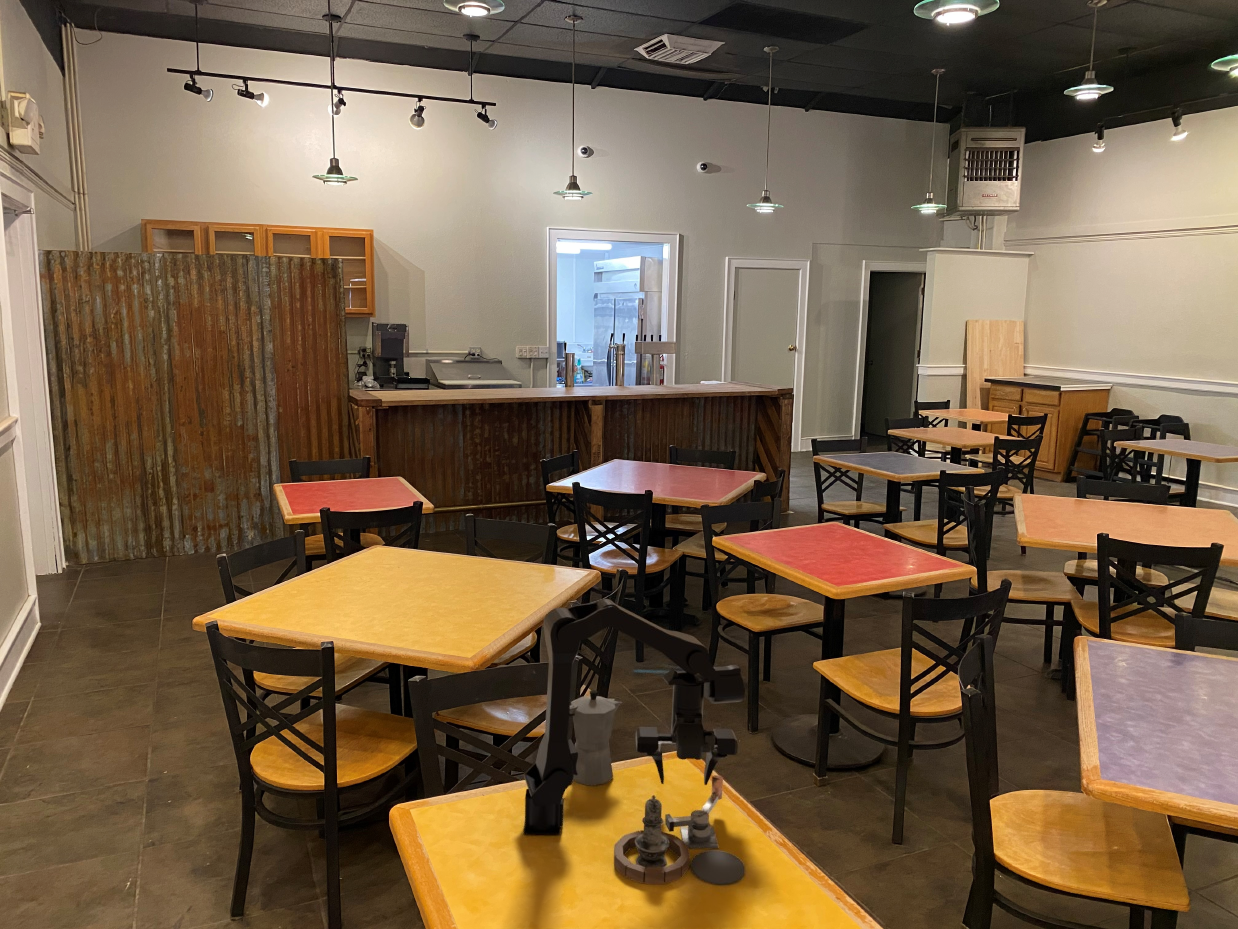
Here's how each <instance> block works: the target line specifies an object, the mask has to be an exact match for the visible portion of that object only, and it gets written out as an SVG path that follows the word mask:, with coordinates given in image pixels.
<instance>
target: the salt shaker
mask: <svg viewBox="0 0 1238 929" xmlns="http://www.w3.org/2000/svg"><path fill="white" fill-rule="evenodd" d="M662 810H663V808H662V802H661V801H660V800H659V799H657V796H656V795H655V794H653V795H652V796H651V798H649V799H647V800H646V801H645V804H644V817H643V818H642V820H641V821H642V824H643V830H644V832H643V834H641V835H639V836H637V838H636V839H635V845H636V846H637V847H636V850H637V853H638V856H636V859H635V864H637V865H640V866H643V867H665V866H668V865H667V864H668V860H667V858H666V857H665V855H666V854H667V851H668V849H667V848H668V847H669V840H668V839H667V838H666V837H665V836H663V835H662V834H661V831H662V825H663V824H664V819H663V818H662Z"/></svg>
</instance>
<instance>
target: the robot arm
mask: <svg viewBox="0 0 1238 929" xmlns="http://www.w3.org/2000/svg"><path fill="white" fill-rule="evenodd" d="M608 628H612V629H615V630H617V631H618V632H620V633H623V634H625V635H626V636H629V637H631V638H633V639H635V640H636V641H638V642H640V643H643V644H645V645H646V646H648V647H650V648H653V649H655V651H658V652H660V653H662V655H664V656H665V657H666V658H668V659H669V660H670V661H671V662H673V664H675V665H676V666H677V667H679V668H680V669H681V670H683V671H677V670H676V669H675V668H673V667H672V668H670V669H669V671H668V672H665V674H663V675H662V679H663V680H664V682H666V684H668V686H672V687H673V689H672V704H671V705H672V708H671V728H670V731H671V733H658V727H657V726H638V728H636V730H635V748H636V752H638V753H641V754H646V756H647V757H651V758H652V759H653V761H654V764H655V766H656V768H657V769H656V770H657V773H658V776H659V780H660V784H661V785H664V783H665V772H664V762H663V751H662V746H663V745H664V746H675V749H676V758H678V759H680V760H695V761H701V760H703V758H704V754H706V756H705V764H704V770H703V784H704V786H707V785H708V783H709V780H710V778H711V776H712V774H713V772H714V769H715V767H716V765H717V764H718V762H719V761H720V760H722V759H726V758H728V755H729V756H736V755H738V749H739V747H738V746H739V745H738V739H737V736H736V735H735V732H734V730H733V729H731V728H713V730H707V729H705V728H704V725H703V718H704V717H703V716H704V715H703V714H704V713H703V712H704V697H705V699H708V700H709V702H710V703H711V704H723V703H739V702H742V701H744V698H745V694H746V687H744V686H745V685H744V680H743V676H742V674H741V673H742V672H741V671H742V669H741V667H739V665H737V664H730V665H726V666H714V665H712V663H711V661H710V659H711V658H710V657H711V655H710V652H709V649H708V648H707V647H706V646H705V645H704V644H702V643H701V642H700V641H699V640H698V639H697V638H696V637H695V636H693V635H690V634H689V633H688V634H687V633H683V632H680V631H676V630H669V629H665V628H663V627H661V626H658V625H657V624H655V623H653V622H651V621H649V620H647V619H645V618H643V617H642V616H640V615H637V614H635V613H634V612H632V611H629V610H628V609H626V608H624V607H622V606H620V605H617V603H615V602H613V601H612V599H608V598H605V599H604V598H603V599H599V600H596V601H594V602H588V603H582V604H576V605H572V606H569V607H566V608H565V607H555V608H552V609H551V610H550V611H549V612H548V613H546V614H545V616H544V618H543V632H544V633H543V634H544V641H545V645H546V651H547V655H548V672H547V690H546V691H547V693H546V709H545V722H544V723H545V726H544V735H543V737H542V739H541V741H540V743H539V746H538V751H537V754H536V759H535V762H534V763H533V764H532V765H531V766H529V768H528V769H527V770H526V771H525V772H524V773H523V778H524V780H525V784H526V786H527V788H526V790H525V796H524V797H525V798H524V825H523V830H522V831H523V832H522V833H523V835H527V836H530V835H534V836H536V835H537V836H538V835H539V836H548V835H549V836H555V835H556V836H560V833H561V827H563V825H564V809H565V808H564V805H565V802H564V800H565V798H564V794H565V793H566V790H567V789H568V788H569V787H571V785H572V784H573V782H574V780H573V778H574V775H578V774H577V771H576V763H577V759H578V752H577V750H576V748H575V743H573V741H572V739H570V738H569V730H570V729H569V728H570V716H569V713H570V705H571V694H572V678H573V676H572V675H573V665H574V662H575V660H576V657H577V656H578V653H579V651H580V646H581V642H582V641H583V640H587V639H589V638H591V637H593V636H596V635H597V634H598V633H599V632H601V631H602V630H605V629H608Z"/></svg>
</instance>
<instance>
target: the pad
mask: <svg viewBox="0 0 1238 929" xmlns="http://www.w3.org/2000/svg"><path fill="white" fill-rule="evenodd" d="M690 870H691V872H692V874H693V875H694V876H695V877H696V878H698V879H699V880H701V881H702V882H704V883H706V884H710V885H717V886H727V885H732V884H735V883H737V882H739V881H741V880H742V879H743V877H744V876H745V873H746V872H745V871H746V867H745V864H744V862H743V861H742V859H741V858H739V857H738V856H736V855H735V854H732V853H730V852H727V851H724V850H717V849H709V850H704V851H701V852H699V853H697V854H695V855H694V856H693V857H692V859H690Z"/></svg>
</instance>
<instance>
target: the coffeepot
mask: <svg viewBox="0 0 1238 929" xmlns="http://www.w3.org/2000/svg"><path fill="white" fill-rule="evenodd" d="M622 703H623V702H622V701H621V700H620V699H618V698H605V697H603V696H599V695H598V690H596V689H591V690H589V696H581V697H578V698H577V699H574V700H572V701H570V713H569V717H572V720H573V721H572V722H573V728H574V737H575V743H574V746H575V748H576V750H577V752H578V759H577V763H576V771H577V774H578V775H574V778H573V782H574V783H577V784H579V785H585V786H600V785H603V784H606V783H608V782H610V781H611V780H612V779H613V778H614V774H613V766H612V765H611V764H612V758H611V749H610V744H609V741H610V739H611V737H612V731H613V725H614V719H615V715H616V714H615V713H616V711H617V709H619V706H620V705H621V704H622Z"/></svg>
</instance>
